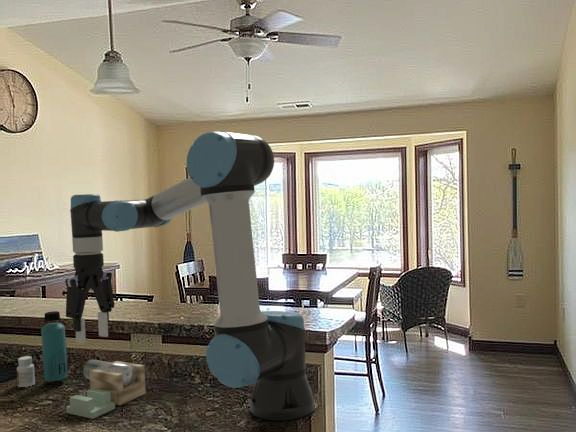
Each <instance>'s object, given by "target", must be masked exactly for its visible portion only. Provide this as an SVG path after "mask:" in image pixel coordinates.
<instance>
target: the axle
mask: <svg viewBox="0 0 576 432" xmlns="http://www.w3.org/2000/svg"><path fill="white" fill-rule="evenodd" d="M93 369H97V370H103V371H109V372H115V373H121V374H123V385H125V386H130V385H132V384H133V383H134V382H135V380H136V377H137V370H136V368H135V367H134V366H130V365H124V364H117V363H112V362H109V361H103V360H98V359H89V360H88V361H86V362H85V364H84V366H83V369H82V370H83V376H84V377H85V378H86V379H88V380H90V370H93Z"/></svg>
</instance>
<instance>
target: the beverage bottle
mask: <svg viewBox="0 0 576 432" xmlns="http://www.w3.org/2000/svg"><path fill="white" fill-rule="evenodd" d="M43 320H44V321H45V322H50V323H46V324H45V325H43V326H42V327H41V329H40V333H41V348H42V351H41V352H42V360H41V361H42V370H43V373H42V375H43V378H44V380H45V381H48V382H55V381H60V380H64V379H65V378H68V374H69V372H68V370H69V369H68V368H69V366H68V358H67V357H68V355H67V339H66V329H65V328H66V326H65V325H64V324H62V323H61V322H55V321H59V320H61V315H60V311H56V310H53V311H48V312H45V313H44V318H43ZM53 321H54V322H53Z"/></svg>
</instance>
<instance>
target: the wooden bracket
mask: <svg viewBox="0 0 576 432" xmlns="http://www.w3.org/2000/svg"><path fill="white" fill-rule="evenodd" d="M111 363H117V364H124V365H130V366H134V367H135V368H136V370H137V377H136V380H135V382H134V383H133V384H132V385H130V386H125V385H123V374H121V373H115V372H109V371H103V370H97V369H93V370H90V379H89V384H90V385H89V389H92V388H95V389H101V390H106V391H110V394H111V402H115V406H122V405H123V404H124V405H125V404H127V403H128V402H130V401H133V400H134V399H137V398H140V397H141V396H143V395H146V391H147V390H146V372H145V369H146V367H145V364H138V363H132V362H126V361H119V360H115V361H112V362H111Z"/></svg>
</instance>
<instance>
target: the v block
mask: <svg viewBox="0 0 576 432" xmlns="http://www.w3.org/2000/svg"><path fill="white" fill-rule="evenodd" d="M115 409H116V405H115V402H111V394H110V391H106V390H101V389H95V388H92V389H90V388H89V389H88V390H86V396H85V395H80V394H75V395H72V396H70V397H69V405H67V406H66V407H65V410H66V411H65V413H67V414H70V415H73V416H75V415H76V416H77V417H83V418H88V419H91V420H92V419H96V418H98V417H100V416H103V415H104V414H107V413H109V412H111V411H113V410H115Z"/></svg>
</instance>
